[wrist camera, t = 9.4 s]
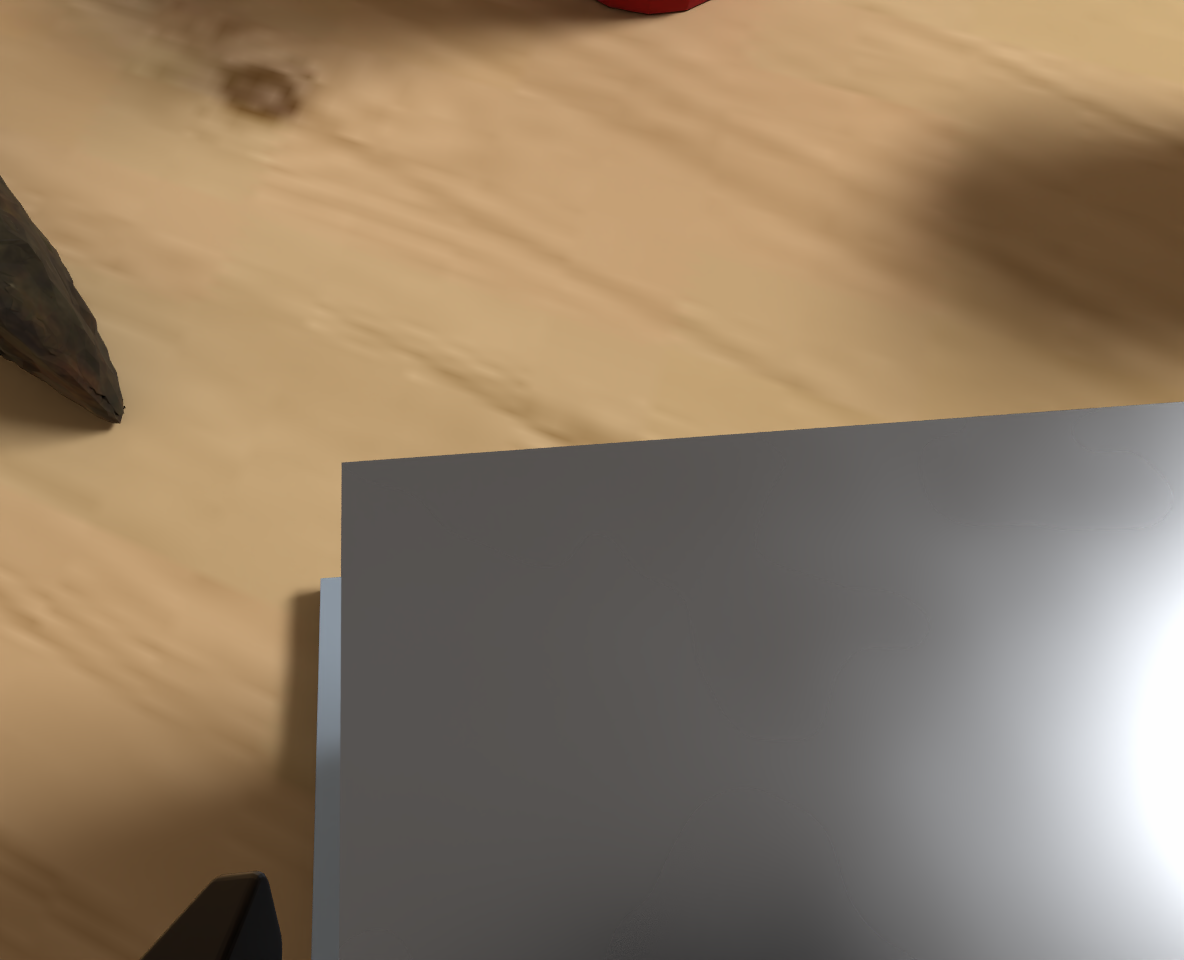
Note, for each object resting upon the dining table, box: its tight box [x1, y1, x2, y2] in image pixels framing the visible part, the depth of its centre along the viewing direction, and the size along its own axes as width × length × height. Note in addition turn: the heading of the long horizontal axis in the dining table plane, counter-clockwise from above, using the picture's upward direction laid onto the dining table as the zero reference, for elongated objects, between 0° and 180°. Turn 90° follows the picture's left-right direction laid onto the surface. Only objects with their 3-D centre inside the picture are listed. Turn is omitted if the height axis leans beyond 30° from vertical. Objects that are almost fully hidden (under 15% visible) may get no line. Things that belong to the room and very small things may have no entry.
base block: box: [311, 577, 341, 960], centre depth 15 cm, size 12×12×4 cm
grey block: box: [339, 402, 1184, 960], centre depth 10 cm, size 6×6×12 cm
